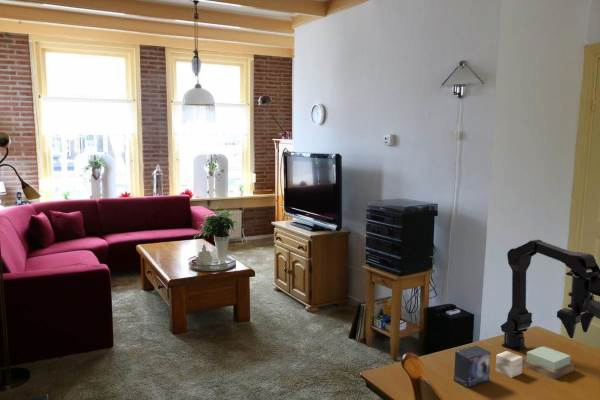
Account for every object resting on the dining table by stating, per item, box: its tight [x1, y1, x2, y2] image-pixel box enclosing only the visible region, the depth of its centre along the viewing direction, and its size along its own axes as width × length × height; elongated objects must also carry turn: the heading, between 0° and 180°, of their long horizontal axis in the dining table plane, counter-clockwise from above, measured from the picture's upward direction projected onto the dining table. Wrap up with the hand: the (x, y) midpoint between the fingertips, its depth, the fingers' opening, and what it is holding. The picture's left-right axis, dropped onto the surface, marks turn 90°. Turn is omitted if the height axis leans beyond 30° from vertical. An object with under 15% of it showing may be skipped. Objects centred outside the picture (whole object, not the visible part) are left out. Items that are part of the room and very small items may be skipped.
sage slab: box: [526, 345, 571, 371], centre depth 169 cm, size 10×10×3 cm
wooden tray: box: [522, 357, 575, 380], centre depth 169 cm, size 12×12×3 cm
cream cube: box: [495, 350, 523, 379], centre depth 167 cm, size 6×6×6 cm
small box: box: [453, 345, 492, 389], centre depth 160 cm, size 11×6×10 cm, turn 117°
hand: (578, 334), depth 164 cm, fingers open, 9 cm apart
